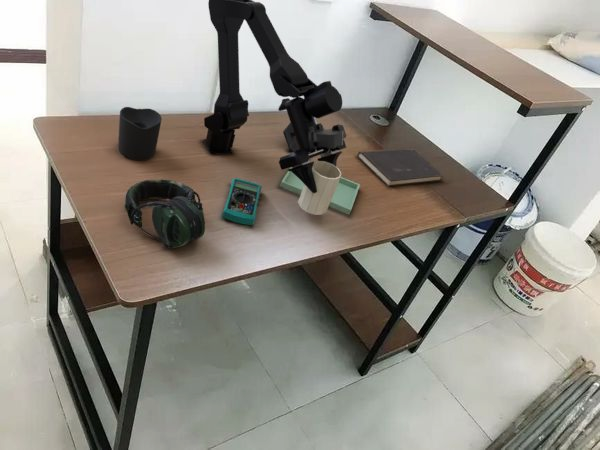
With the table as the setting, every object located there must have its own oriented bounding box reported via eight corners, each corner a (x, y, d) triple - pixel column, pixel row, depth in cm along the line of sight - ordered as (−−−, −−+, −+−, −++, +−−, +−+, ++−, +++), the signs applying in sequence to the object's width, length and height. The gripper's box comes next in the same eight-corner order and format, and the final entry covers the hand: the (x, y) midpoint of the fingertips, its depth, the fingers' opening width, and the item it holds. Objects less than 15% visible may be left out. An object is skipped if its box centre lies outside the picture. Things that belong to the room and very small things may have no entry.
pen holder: (142, 166, 123) (147, 130, 117) (108, 151, 124) (111, 114, 118) (163, 151, 131) (169, 116, 125) (130, 137, 131) (134, 101, 126)
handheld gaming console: (316, 156, 148) (304, 124, 144) (292, 164, 150) (280, 132, 146) (318, 143, 159) (307, 113, 155) (296, 151, 160) (284, 121, 156)
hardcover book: (440, 181, 163) (443, 175, 162) (387, 187, 150) (390, 180, 149) (408, 153, 173) (411, 147, 171) (356, 156, 160) (359, 150, 158)
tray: (279, 188, 133) (281, 181, 132) (293, 164, 145) (296, 158, 143) (348, 216, 132) (351, 210, 131) (357, 190, 144) (360, 184, 142)
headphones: (234, 214, 109) (171, 177, 118) (203, 187, 97) (137, 148, 106) (197, 267, 107) (136, 225, 116) (162, 246, 95) (97, 201, 104)
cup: (303, 214, 121) (317, 178, 115) (294, 195, 126) (307, 159, 120) (330, 215, 124) (345, 179, 118) (320, 196, 129) (334, 161, 123)
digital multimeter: (220, 220, 116) (223, 210, 114) (230, 185, 128) (233, 175, 126) (252, 228, 117) (255, 218, 115) (259, 193, 129) (262, 183, 127)
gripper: (304, 121, 106) (327, 193, 109) (353, 107, 120) (373, 172, 122) (267, 134, 114) (289, 201, 116) (318, 120, 127) (337, 181, 130)
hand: (324, 188), depth 121 cm, fingers closed on cup, 7 cm apart
